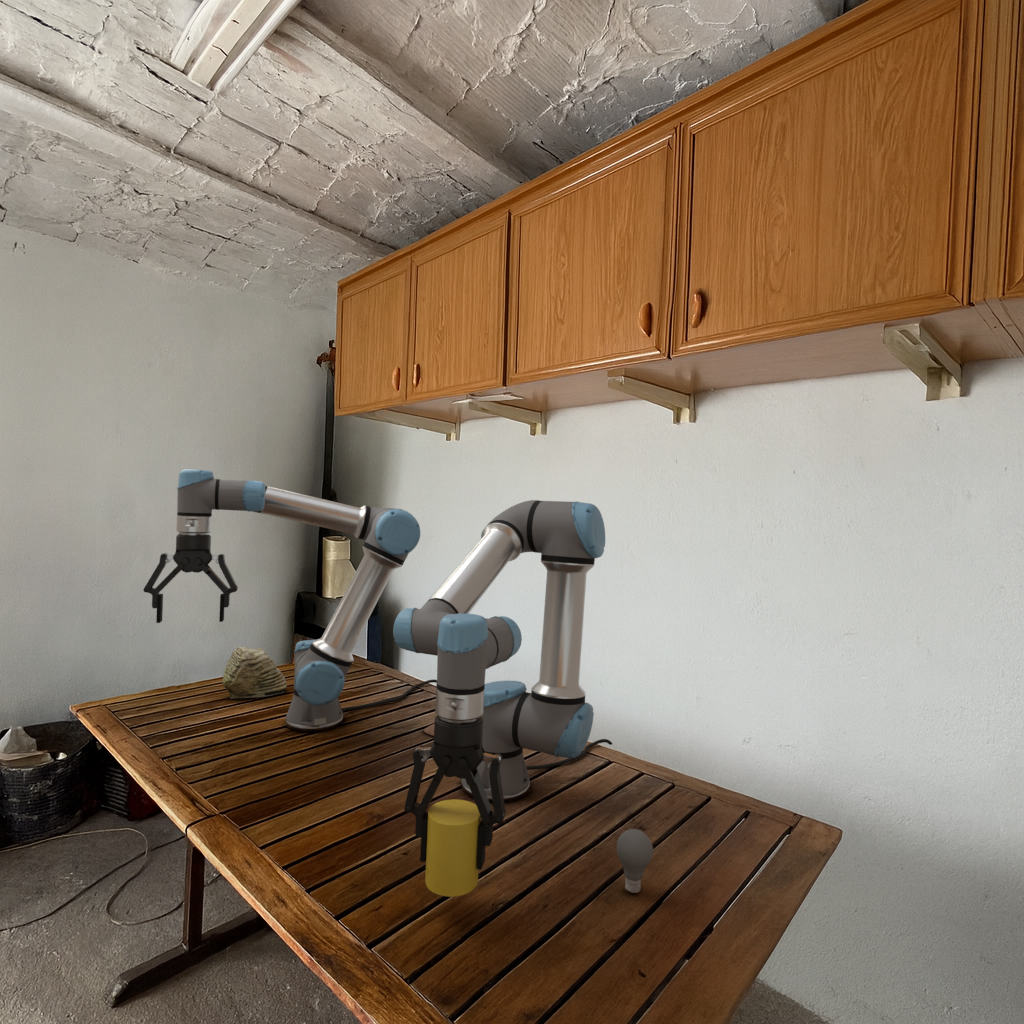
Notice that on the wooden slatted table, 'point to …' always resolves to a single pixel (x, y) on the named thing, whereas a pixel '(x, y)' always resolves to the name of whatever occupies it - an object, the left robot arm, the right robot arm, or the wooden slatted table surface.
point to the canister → (452, 847)
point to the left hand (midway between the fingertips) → (190, 621)
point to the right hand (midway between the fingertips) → (452, 860)
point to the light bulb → (634, 857)
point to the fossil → (252, 674)
